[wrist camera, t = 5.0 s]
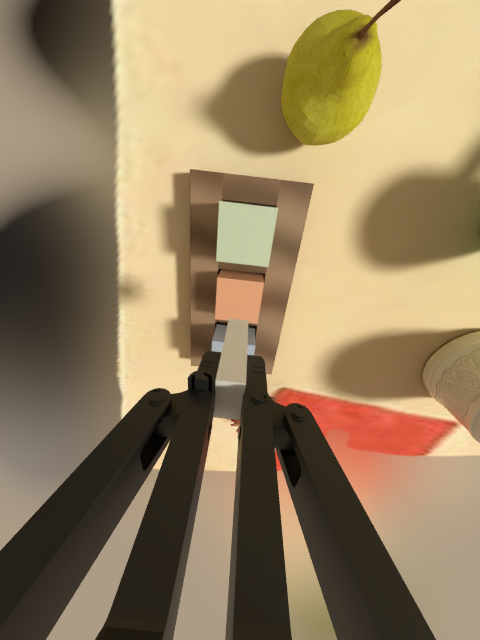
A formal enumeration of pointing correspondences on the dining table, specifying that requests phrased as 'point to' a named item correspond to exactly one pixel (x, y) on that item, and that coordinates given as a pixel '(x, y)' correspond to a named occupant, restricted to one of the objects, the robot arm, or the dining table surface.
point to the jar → (457, 380)
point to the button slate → (220, 336)
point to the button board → (277, 276)
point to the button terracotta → (239, 295)
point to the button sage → (245, 233)
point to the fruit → (332, 76)
